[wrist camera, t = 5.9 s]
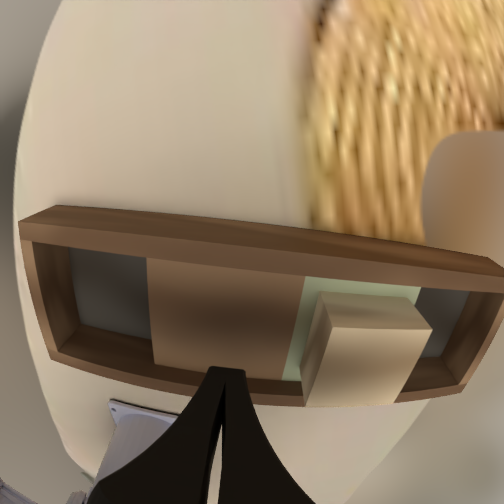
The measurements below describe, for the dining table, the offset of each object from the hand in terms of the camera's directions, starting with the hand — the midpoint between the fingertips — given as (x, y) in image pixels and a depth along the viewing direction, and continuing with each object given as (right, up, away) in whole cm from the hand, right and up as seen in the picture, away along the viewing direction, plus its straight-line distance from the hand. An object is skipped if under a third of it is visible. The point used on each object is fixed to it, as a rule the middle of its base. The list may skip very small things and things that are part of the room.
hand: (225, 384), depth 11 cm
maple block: (+6, +1, +4) cm, 8 cm away
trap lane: (+3, +2, +6) cm, 7 cm away
